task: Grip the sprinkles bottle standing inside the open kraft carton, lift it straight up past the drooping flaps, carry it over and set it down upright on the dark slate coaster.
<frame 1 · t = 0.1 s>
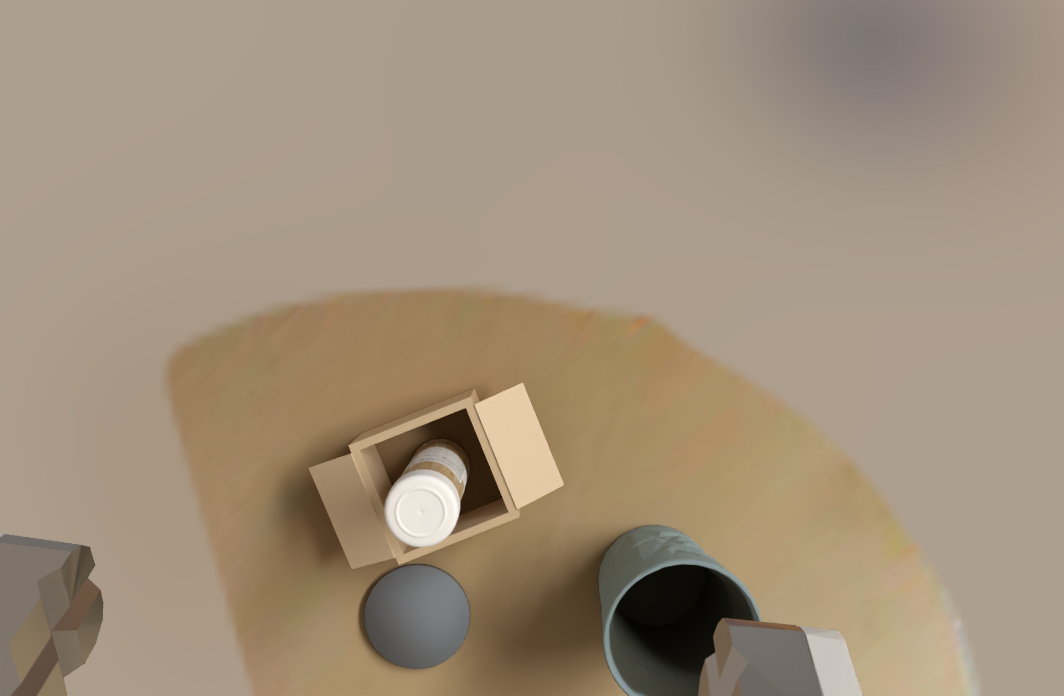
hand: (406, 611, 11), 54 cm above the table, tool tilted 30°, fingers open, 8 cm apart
carton: (440, 466, 66), on the table
teal cup: (654, 574, 67), on the table
coaster: (417, 614, 67), on the table
sprinkles bottle: (441, 466, 66), resting in carton
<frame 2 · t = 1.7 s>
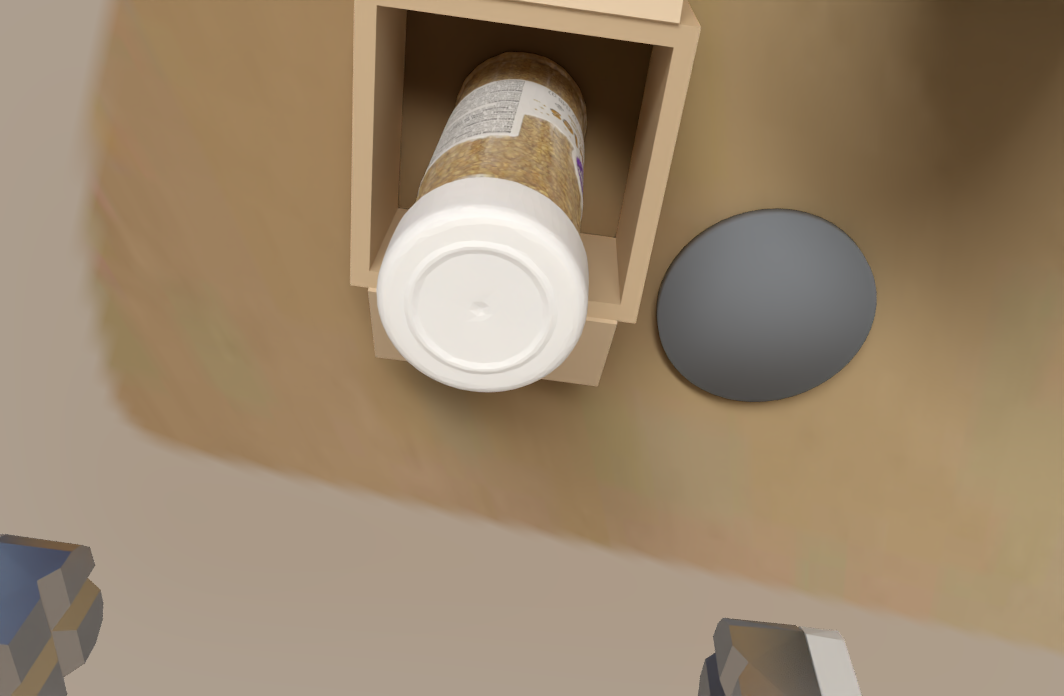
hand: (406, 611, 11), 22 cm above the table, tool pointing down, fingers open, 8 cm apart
carton: (519, 115, 30), on the table
coaster: (762, 306, 33), on the table
sprinkles bottle: (520, 113, 30), resting in carton
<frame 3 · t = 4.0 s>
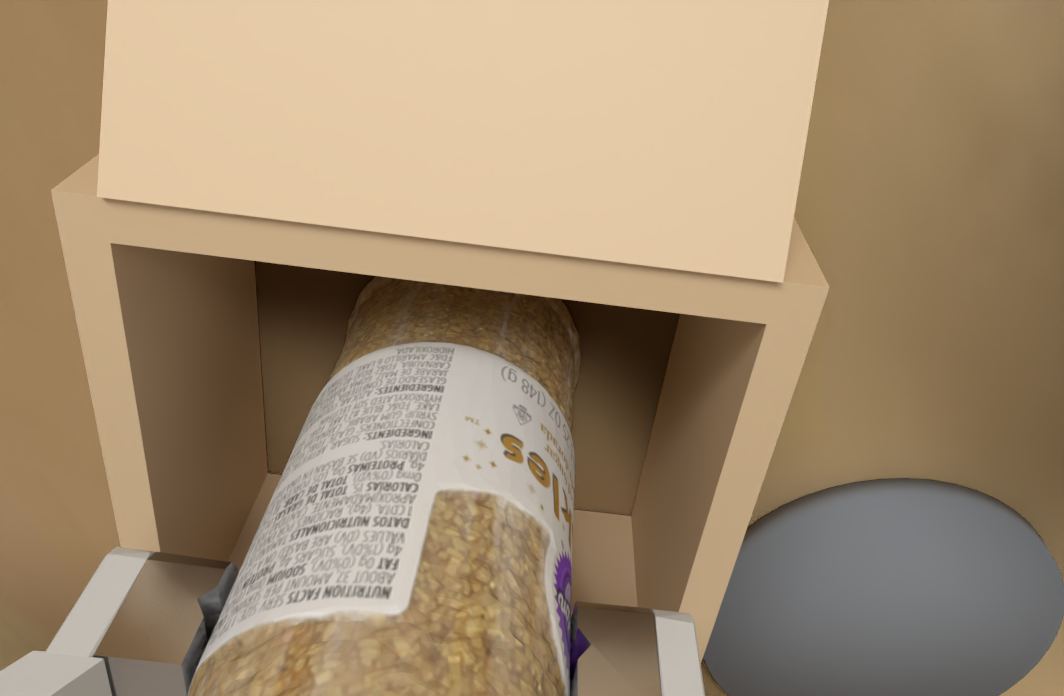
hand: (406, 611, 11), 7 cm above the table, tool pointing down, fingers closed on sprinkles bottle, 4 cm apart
carton: (463, 341, 17), on the table
coaster: (869, 608, 20), on the table
sprinkles bottle: (464, 336, 17), resting in carton, touching gripper
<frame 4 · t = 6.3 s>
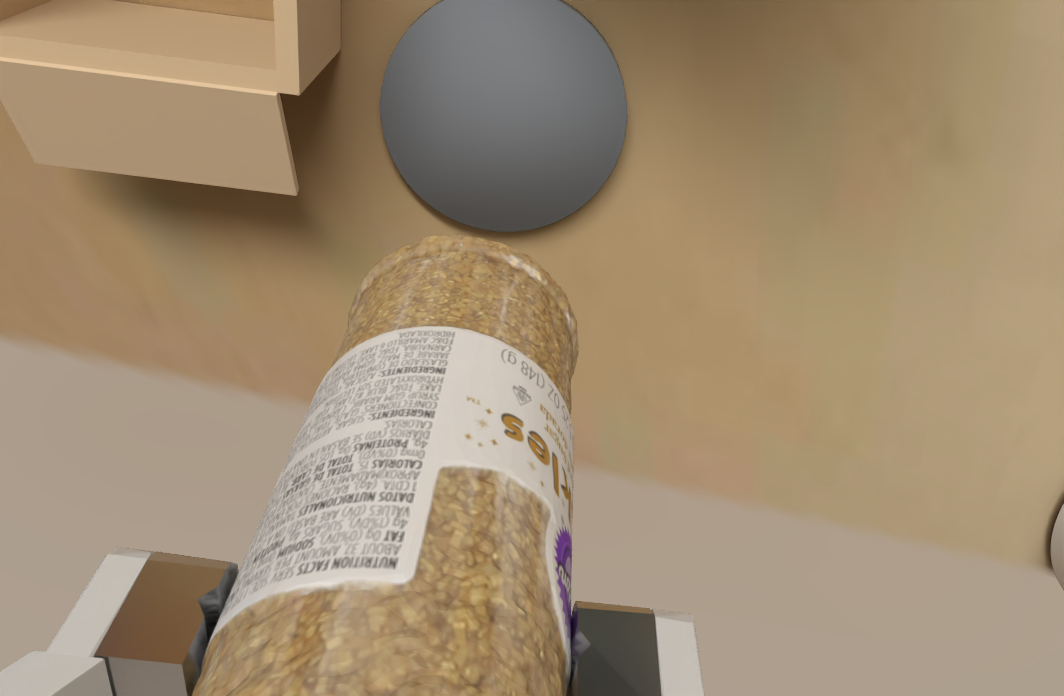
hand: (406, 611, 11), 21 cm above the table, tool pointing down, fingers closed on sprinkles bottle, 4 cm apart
coaster: (504, 113, 29), on the table
sprinkles bottle: (464, 323, 17), point 13 cm above the table, touching gripper
when the fingers open (8 cm above the table, at t = 8.9 s): sprinkles bottle stays where it is, resting on coaster.
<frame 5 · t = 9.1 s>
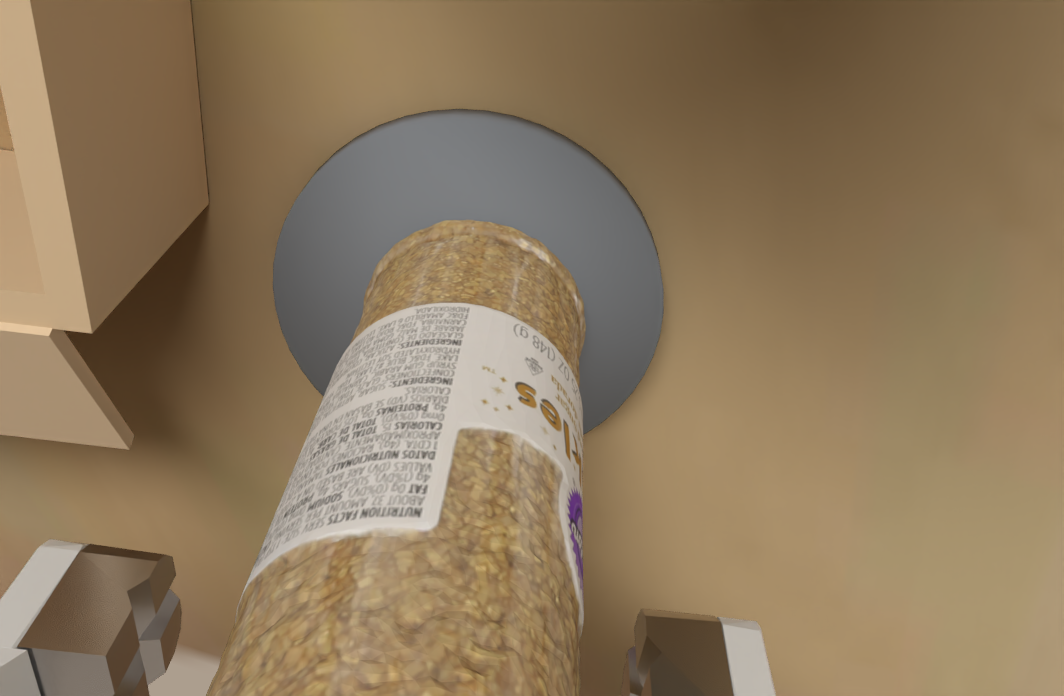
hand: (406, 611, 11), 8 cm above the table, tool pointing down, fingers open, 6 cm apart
coaster: (470, 296, 18), on the table
sprinkles bottle: (475, 306, 18), resting on coaster
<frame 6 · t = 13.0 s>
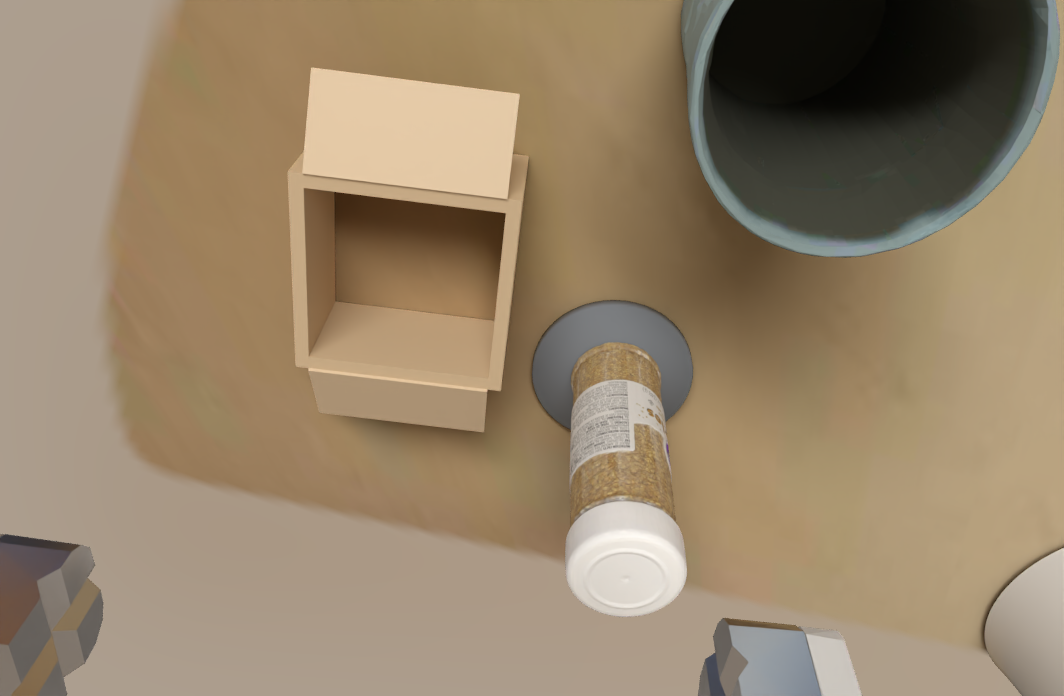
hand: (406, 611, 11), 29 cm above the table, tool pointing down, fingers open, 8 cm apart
carton: (420, 237, 41), on the table
teal cup: (784, 6, 35), on the table
coaster: (611, 369, 44), on the table
sprinkles bottle: (614, 373, 44), resting on coaster
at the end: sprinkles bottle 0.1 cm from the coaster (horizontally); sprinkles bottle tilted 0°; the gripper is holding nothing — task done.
